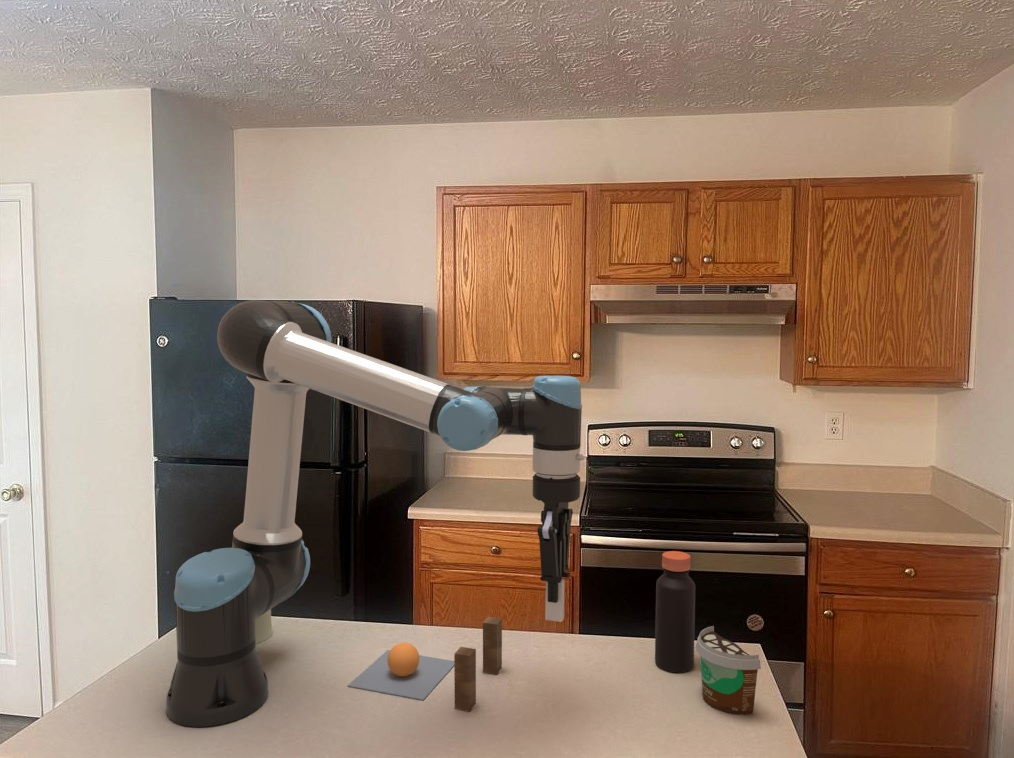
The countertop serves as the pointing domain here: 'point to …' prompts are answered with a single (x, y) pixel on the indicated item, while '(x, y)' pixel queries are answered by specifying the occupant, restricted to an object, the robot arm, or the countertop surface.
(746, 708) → the food container
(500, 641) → the post
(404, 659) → the ball
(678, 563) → the bottle
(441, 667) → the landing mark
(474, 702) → the post
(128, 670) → the countertop surface
